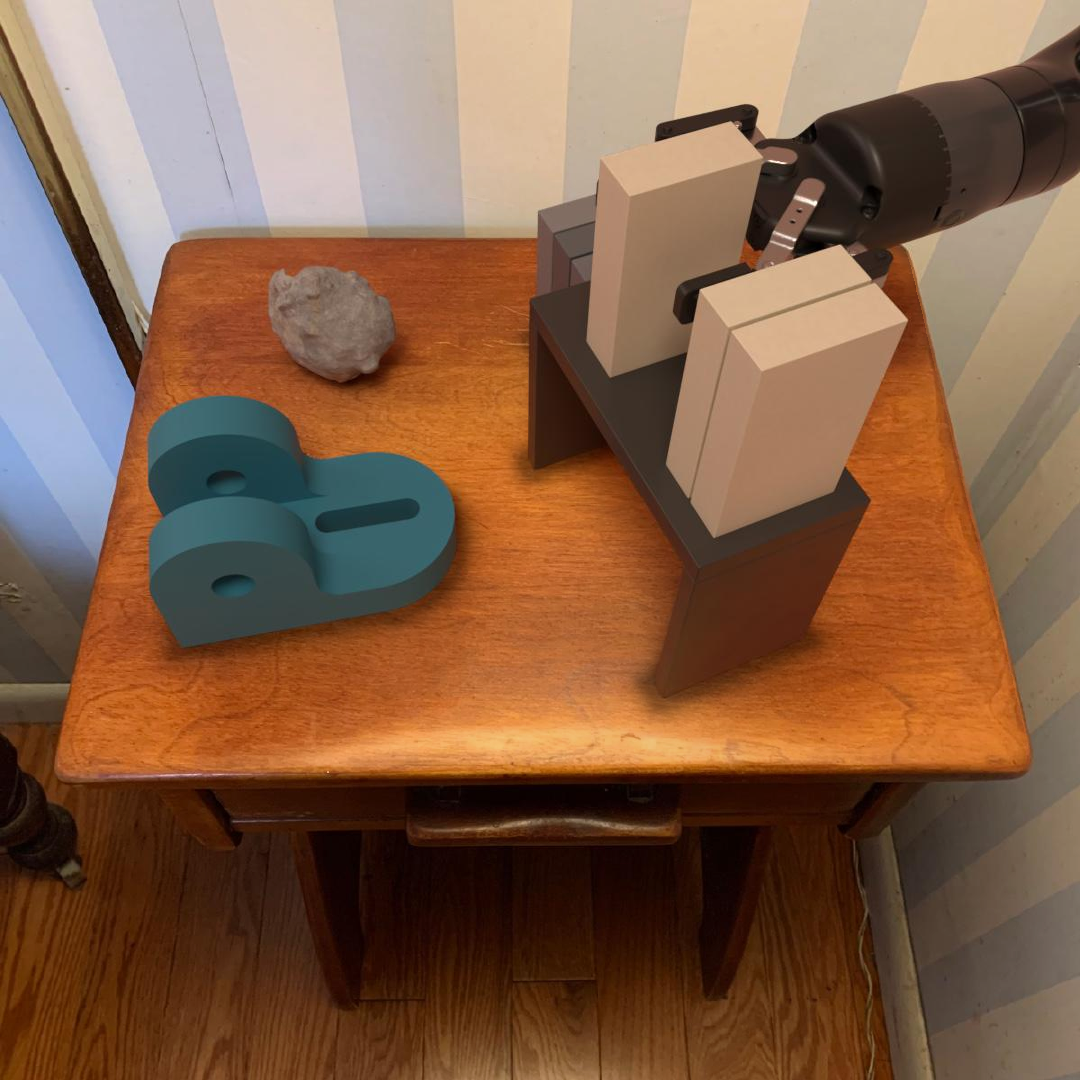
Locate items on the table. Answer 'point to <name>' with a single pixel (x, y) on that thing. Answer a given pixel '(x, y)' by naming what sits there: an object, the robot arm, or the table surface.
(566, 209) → the grey books
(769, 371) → the white books
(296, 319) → the stone
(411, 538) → the bracket
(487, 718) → the table surface
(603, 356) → the beige rectangular block
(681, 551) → the shelf
